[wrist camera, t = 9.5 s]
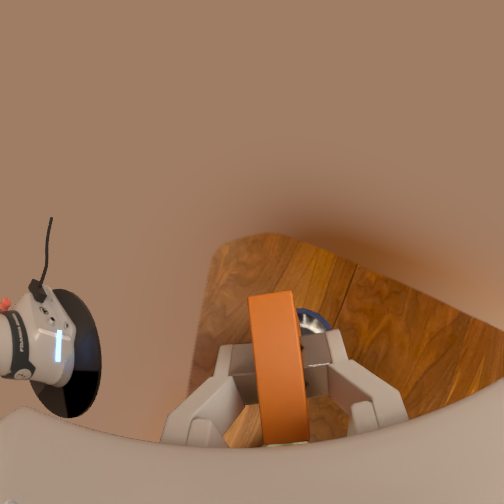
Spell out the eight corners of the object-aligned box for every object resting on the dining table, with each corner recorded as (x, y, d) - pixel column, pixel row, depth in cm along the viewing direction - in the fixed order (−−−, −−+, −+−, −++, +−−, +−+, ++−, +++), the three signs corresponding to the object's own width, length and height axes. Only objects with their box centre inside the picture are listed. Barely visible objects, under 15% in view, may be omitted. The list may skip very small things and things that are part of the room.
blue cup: (257, 347, 34) (242, 346, 25) (298, 306, 34) (296, 292, 26) (298, 386, 31) (295, 399, 23) (339, 345, 32) (351, 344, 23)
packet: (289, 386, 20) (263, 445, 7) (282, 328, 21) (246, 296, 8) (307, 384, 19) (310, 441, 6) (300, 326, 21) (291, 289, 8)
